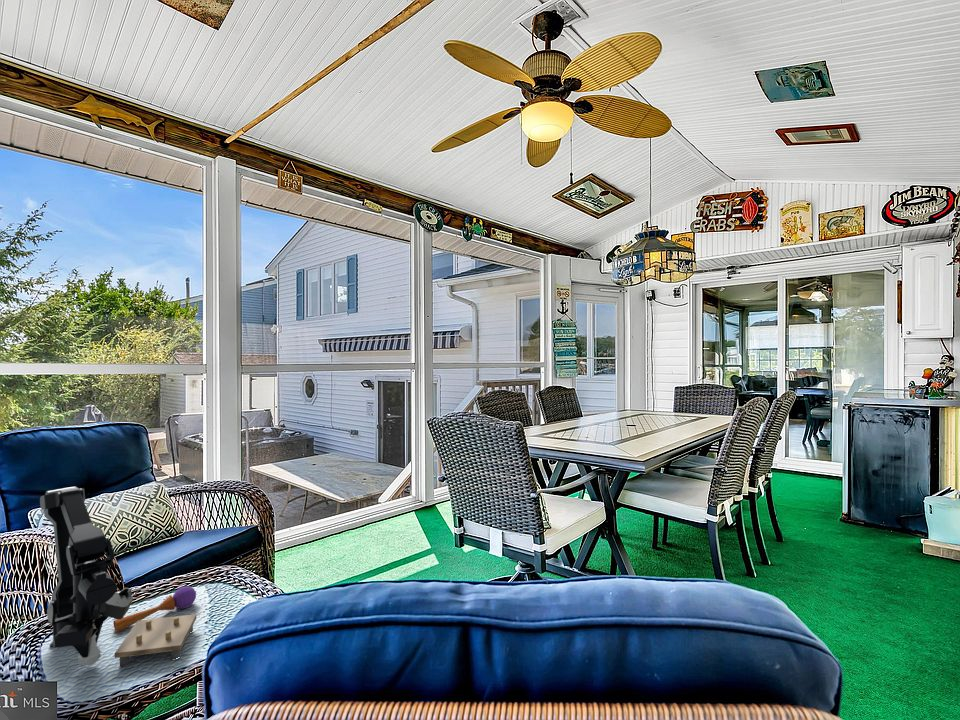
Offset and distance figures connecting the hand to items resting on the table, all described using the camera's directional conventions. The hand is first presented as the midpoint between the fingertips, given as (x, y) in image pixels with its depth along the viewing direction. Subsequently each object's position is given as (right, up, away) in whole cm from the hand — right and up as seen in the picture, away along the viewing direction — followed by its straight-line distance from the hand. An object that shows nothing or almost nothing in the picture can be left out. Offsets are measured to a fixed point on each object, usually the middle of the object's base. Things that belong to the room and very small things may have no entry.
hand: (89, 652), depth 120 cm
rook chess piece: (0, -2, 0) cm, 2 cm away
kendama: (+2, -3, +22) cm, 23 cm away
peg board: (+11, -4, +8) cm, 14 cm away
